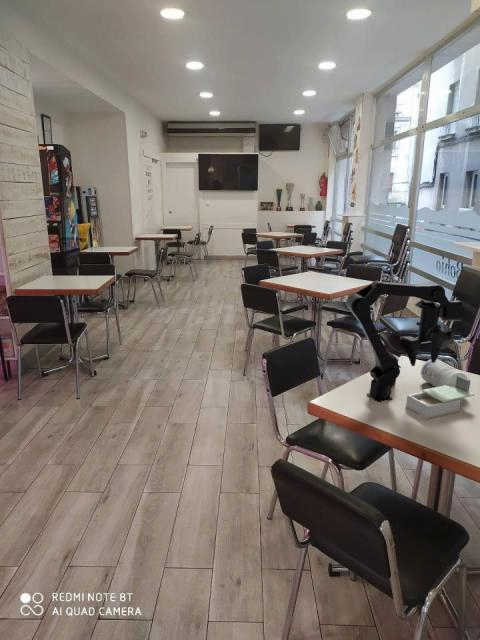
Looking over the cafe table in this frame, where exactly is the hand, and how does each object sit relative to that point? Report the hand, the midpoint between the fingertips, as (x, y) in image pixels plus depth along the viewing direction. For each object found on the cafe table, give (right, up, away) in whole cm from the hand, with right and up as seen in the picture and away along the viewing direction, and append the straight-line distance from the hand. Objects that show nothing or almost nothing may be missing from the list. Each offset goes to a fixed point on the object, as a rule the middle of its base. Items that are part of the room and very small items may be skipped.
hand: (423, 364), depth 152 cm
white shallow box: (+1, -15, -6) cm, 16 cm away
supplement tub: (+10, -4, +16) cm, 19 cm away
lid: (+6, -9, -5) cm, 12 cm away
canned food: (-9, -9, +15) cm, 19 cm away
